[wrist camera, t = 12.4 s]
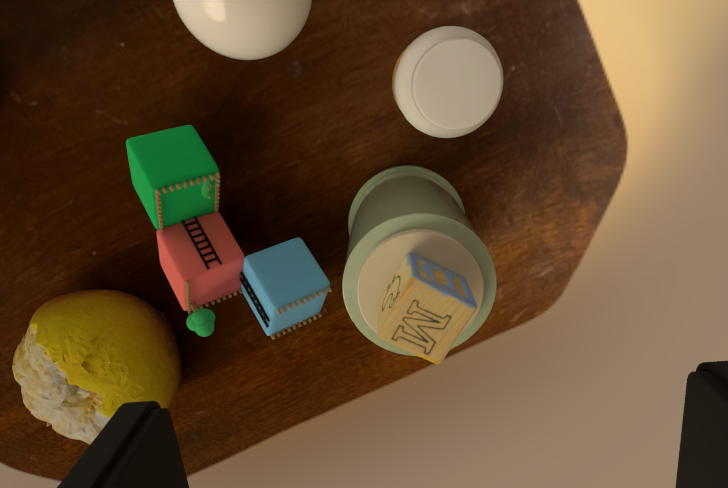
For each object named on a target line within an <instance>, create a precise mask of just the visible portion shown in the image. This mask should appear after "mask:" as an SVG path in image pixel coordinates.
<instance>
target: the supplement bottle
mask: <svg viewBox="0 0 728 488" xmlns="http://www.w3.org/2000/svg"><path fill="white" fill-rule="evenodd" d="M392 89H393V95H394V98H395V101H396V103H397V105H398V107H399V109H400V110H401V112H402V113H403V115H404V116H405V118H406V119H407V120H408V121H409V122H410V123H411V124H412V125H413V126H414V127H415V128H417V129H418V130H420V131H422V132H423V133H425V134H428V135H430V136H434V137H439V138H454V137H459V136H463V135H466V134H468V133H470V132H472V131H474V130H476V129H477V128H479V127H480V126H481V125H482V124H483V123H485V122H486V121H487V120H488V118H489V117H490V116H491V115H492V113H493V112H494V110H495V109H496V107H497V105H498V103H499V100H500V97H501V94H502V89H503V71H502V66H501V62H500V59H499V57H498V55H497V53H496V51H495V50H494V48H493V47H492V45H491V44H490V43H489V42H488V41H487V40H486V39H485V38H484V37H482V36H481V35H480V34H478V33H476V32H475V31H472V30H470V29H467V28H464V27H459V26H444V27H439V28H435V29H432V30H430V31H428V32H426V33H424V34H422V35H420V36H419V37H418V38H416V39H415V40H414V41H413V42H412V43H411V44H410V45H409V46H408V47H407V48H406V49H405V50H404V51H403V52H402V54H401V55H400V57H399V58H398V60H397V62H396V65H395V68H394V71H393V77H392Z"/></svg>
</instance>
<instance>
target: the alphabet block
mask: <svg viewBox="0 0 728 488" xmlns="http://www.w3.org/2000/svg"><path fill="white" fill-rule="evenodd" d="M476 309H477V304H476V301H475V299H474V297H473V294H472V292H471V290H470V288H469V286H468V284H467V282H466V280H465V279H464V278H462V277H461V276H459V275H457V274H455V273H452V272H450V271H448V270H446V269H444V268H442V267H440V266H438V265H436V264H434V263H432V262H430V261H428V260H426V259H424V258H422V257H420V256H418V255H416V254H414V253H411V252H410V253H408V254H407V255H406V257H405V258H404V260H403V262H402V263H401V265H400V267H399V269H398V271H397V272H396V274H395V275H394V277H393V279H392V280H391V282H390V284H389V286H388V288H387V289H386V291H385V293H384V294H383V296H382V298H381V300H380V301H379V303H378V304H377V333H378V336H379V337H380V338H381V339H383V340H384V341H387V342H389V343H391V344H394V345H395V346H397V347H400V348H402V349H404V350H407V351H409V352H411V353H414V354H415V355H417V356H420V357H422V358H424V359H426V360H429V361H431V362H433V363H435V364H440V363H441V362H442V361H443V359H444V358H445V356H446V355H447V353H448V351H449V350H450V348H451V347H452V345H453V344H454V342H455V340H456V339H457V338H458V336H459V335H460V333H461V332H462V330H463V328H464V327H465V325H466V324H467V323H468V321H469V320H470V318H471V316H472V315H473V313H474V312H475V311H476Z"/></svg>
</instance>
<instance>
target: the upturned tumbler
mask: <svg viewBox="0 0 728 488" xmlns="http://www.w3.org/2000/svg"><path fill="white" fill-rule="evenodd" d="M348 230H349V236H350V238H349V244H348V250H347V256H346V262H345V268H344V274H343V283H342V286H343V297H344V302H345V305H346V308H347V311H348V313H349V315H350V317H351V319H352V321H353V322H354V324H355V325H356V327H357V328H358V329H359V330H360V331H361V332H362V334H364V335H365V336H366V337H367V338H368V339H369V340H371V341H372V342H374V343H375V344H377V345H378V346H380V347H382V348H384V349H386V350H389V351H392V352H395V353H399V354H403V355H412V356H417V355H415V354H414V353H411V352H409V351H407V350H404V349H402V348H400V347H397V346H395V345H394V344H391V343H389V342H387V341H384V340H383V339H381V338H380V337H379V336H378V333H377V304H378V303H379V301H380V300H381V298H382V296H383V294H384V293H385V291H386V289H387V288H388V286H389V284H390V282H391V280H392V279H393V277H394V275H395V274H396V272H397V271H398V269H399V267H400V265H401V263H402V262H403V260H404V258H405V257H406V255H407V254H408V253H410V252H411V253H414V254H416V255H418V256H420V257H422V258H424V259H426V260H428V261H430V262H432V263H434V264H436V265H438V266H440V267H442V268H444V269H446V270H448V271H450V272H452V273H455V274H457V275H459V276H461V277H462V278H464V279H465V280H466V282H467V284H468V286H469V288H470V290H471V292H472V294H473V297H474V299H475V301H476V304H477V309H476V311H475V312H474V313H473V315H472V316H471V318H470V320H469V321H468V323H467V324H466V325H465V327H464V328H463V330H462V332H461V333H460V335H459V336H458V338H457V339H456V340H455V342H454V344H453V345H452V347H451V348H450V349H452V348H454V347H456V346H458V345H460V344H461V343H463V342H464V341H466V340H467V339H468V338H470V337H471V336H472V335H473V334H474V333H475V332H476V331H477V330H478V329H479V328H480V327H481V326H482V324H483V323H484V321H485V320H486V318H487V317H488V315H489V313H490V311H491V308H492V306H493V303H494V299H495V294H496V285H497V280H496V271H495V267H494V263H493V260H492V258H491V255H490V253H489V251H488V249H487V248H486V246H485V244H484V243H483V241H482V240H481V238H480V236H479V235H478V233H477V232H476V230H475V229H474V227H473V225H472V224H471V222H470V221H469V219H468V218H467V216H466V214H465V210H464V206H463V203H462V201H461V198H460V197H459V195H458V193H457V191H456V190H455V189H454V187H453V186H452V185H451V184H450V183H449V182H448V181H447V180H446V179H445V178H444V177H442V176H441V175H440V174H438V173H436V172H435V171H433V170H430V169H428V168H424V167H420V166H414V165H401V166H394V167H391V168H387V169H385V170H383V171H380V172H379V173H377V174H375V175H374V176H372V177H371V178H370V179H368V180H367V181H366V182H365V183H364V184H363V185H362V187H361V188H360V189H359V191H358V192H357V194H356V195H355V197H354V199H353V202H352V204H351V208H350V212H349V219H348Z"/></svg>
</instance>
